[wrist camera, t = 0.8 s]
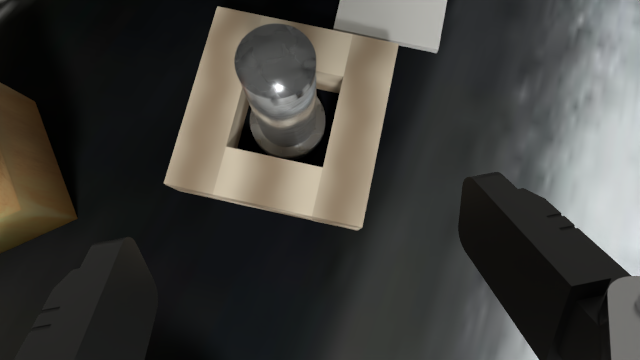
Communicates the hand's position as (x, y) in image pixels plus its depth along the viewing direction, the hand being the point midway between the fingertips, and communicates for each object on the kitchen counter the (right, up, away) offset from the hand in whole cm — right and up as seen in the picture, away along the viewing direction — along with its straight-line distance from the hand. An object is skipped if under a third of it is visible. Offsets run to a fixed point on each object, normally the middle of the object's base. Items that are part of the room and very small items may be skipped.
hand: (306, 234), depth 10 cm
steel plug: (-3, +6, +26) cm, 27 cm away
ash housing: (-3, +6, +26) cm, 27 cm away
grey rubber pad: (+8, +19, +29) cm, 35 cm away
